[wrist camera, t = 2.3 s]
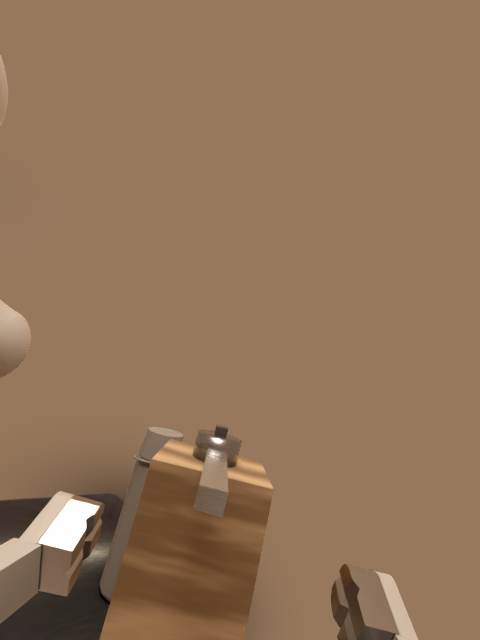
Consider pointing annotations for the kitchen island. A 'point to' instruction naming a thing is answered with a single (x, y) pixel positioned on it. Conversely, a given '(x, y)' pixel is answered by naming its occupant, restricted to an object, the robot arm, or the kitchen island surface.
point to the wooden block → (190, 554)
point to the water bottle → (133, 504)
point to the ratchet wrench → (214, 468)
